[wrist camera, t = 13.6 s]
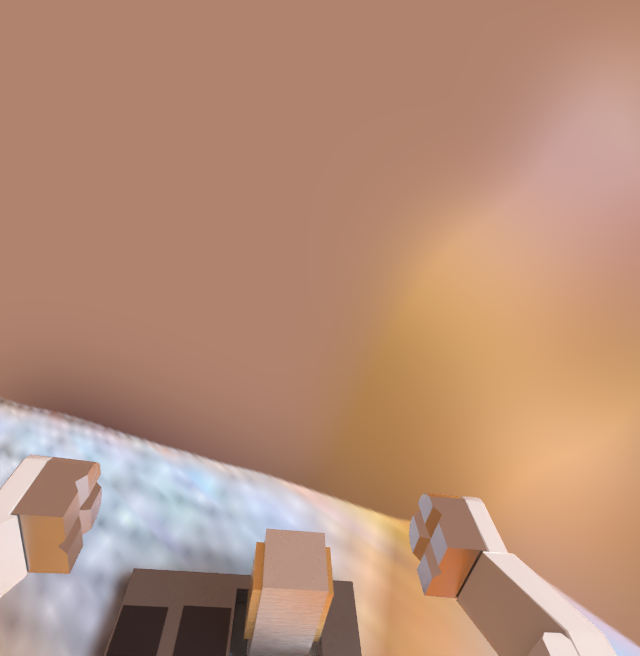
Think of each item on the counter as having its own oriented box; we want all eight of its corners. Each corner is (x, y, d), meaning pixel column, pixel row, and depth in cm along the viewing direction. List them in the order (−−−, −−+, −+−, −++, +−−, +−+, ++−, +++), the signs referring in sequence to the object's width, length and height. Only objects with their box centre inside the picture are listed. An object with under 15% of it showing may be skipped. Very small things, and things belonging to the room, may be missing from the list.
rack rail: (86, 723, 30) (84, 708, 29) (134, 582, 39) (133, 567, 38) (362, 727, 32) (369, 713, 31) (347, 594, 41) (352, 581, 40)
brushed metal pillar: (236, 680, 33) (253, 587, 28) (242, 619, 37) (258, 528, 32) (307, 682, 34) (337, 591, 29) (306, 623, 38) (332, 533, 33)
